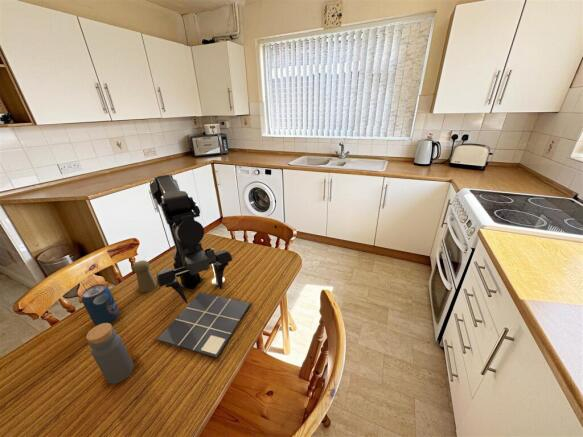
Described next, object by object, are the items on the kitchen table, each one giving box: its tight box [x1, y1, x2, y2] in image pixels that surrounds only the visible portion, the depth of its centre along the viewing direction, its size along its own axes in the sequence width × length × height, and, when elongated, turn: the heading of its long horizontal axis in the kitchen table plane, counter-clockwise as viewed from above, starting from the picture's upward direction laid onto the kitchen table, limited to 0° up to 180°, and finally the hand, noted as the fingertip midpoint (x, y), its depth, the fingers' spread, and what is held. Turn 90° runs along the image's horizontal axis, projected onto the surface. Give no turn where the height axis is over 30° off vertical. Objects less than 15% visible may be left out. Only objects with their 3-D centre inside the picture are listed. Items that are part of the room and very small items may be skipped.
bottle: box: [86, 323, 135, 385], centre depth 58 cm, size 6×6×15 cm
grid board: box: [156, 292, 251, 359], centre depth 75 cm, size 20×20×1 cm
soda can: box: [81, 283, 120, 326], centre depth 74 cm, size 7×7×12 cm
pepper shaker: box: [132, 259, 158, 293], centre depth 88 cm, size 6×6×11 cm
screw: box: [211, 263, 226, 288], centre depth 88 cm, size 13×5×5 cm
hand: (204, 295), depth 65 cm, fingers open, 9 cm apart
